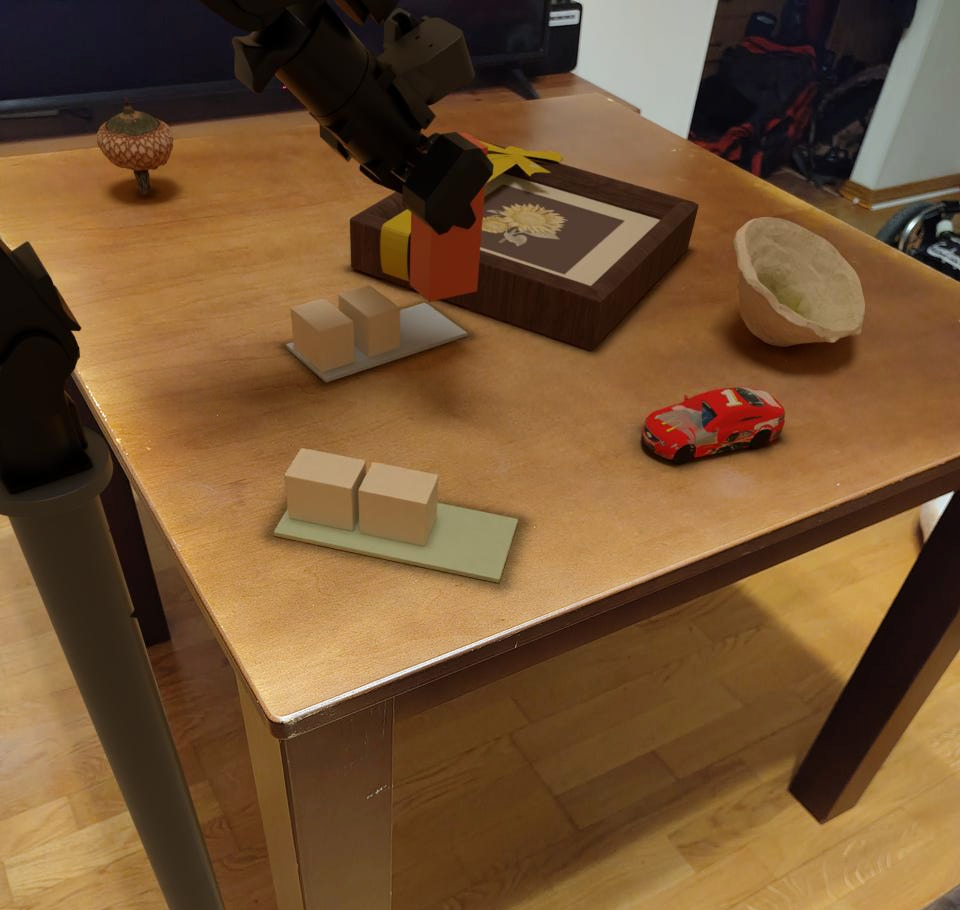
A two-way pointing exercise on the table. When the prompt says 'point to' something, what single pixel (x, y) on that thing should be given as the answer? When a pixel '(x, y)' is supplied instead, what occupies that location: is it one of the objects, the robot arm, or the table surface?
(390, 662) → the table surface
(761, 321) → the bowl
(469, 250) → the orange upright bar
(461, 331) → the blocks on base plate
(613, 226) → the picture frame
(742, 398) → the race car
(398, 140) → the robot arm
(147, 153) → the acorn
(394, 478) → the pale green base plate
